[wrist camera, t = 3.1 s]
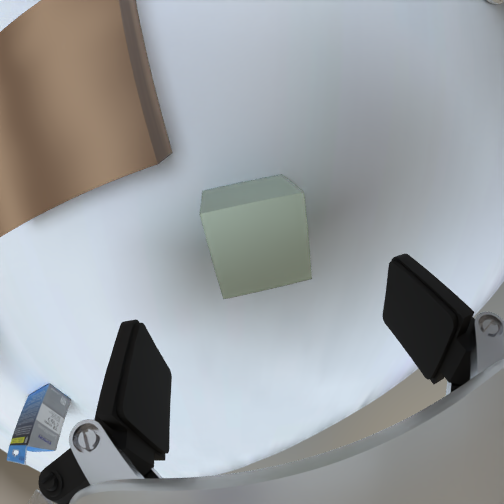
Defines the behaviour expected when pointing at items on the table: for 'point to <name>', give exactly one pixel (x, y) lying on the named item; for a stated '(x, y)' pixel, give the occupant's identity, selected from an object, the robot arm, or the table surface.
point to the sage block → (256, 235)
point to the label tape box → (39, 423)
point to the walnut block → (73, 104)
